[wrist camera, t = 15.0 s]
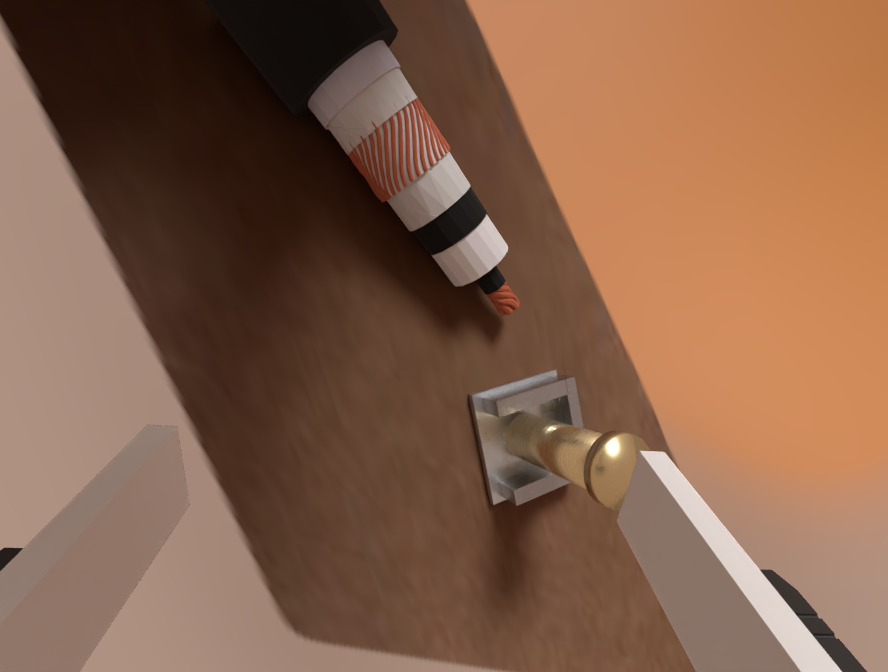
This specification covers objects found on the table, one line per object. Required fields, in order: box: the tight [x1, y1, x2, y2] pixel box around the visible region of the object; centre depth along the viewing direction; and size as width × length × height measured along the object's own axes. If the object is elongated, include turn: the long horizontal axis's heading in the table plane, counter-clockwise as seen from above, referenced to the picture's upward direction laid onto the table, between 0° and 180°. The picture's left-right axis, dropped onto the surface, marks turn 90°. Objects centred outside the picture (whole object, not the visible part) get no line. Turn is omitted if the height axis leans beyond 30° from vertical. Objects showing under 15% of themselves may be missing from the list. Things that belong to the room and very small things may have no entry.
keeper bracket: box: [468, 369, 584, 506], centre depth 43 cm, size 11×10×4 cm
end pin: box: [506, 413, 650, 511], centre depth 38 cm, size 6×6×13 cm
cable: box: [203, 0, 520, 316], centre depth 36 cm, size 10×34×10 cm, turn 43°
